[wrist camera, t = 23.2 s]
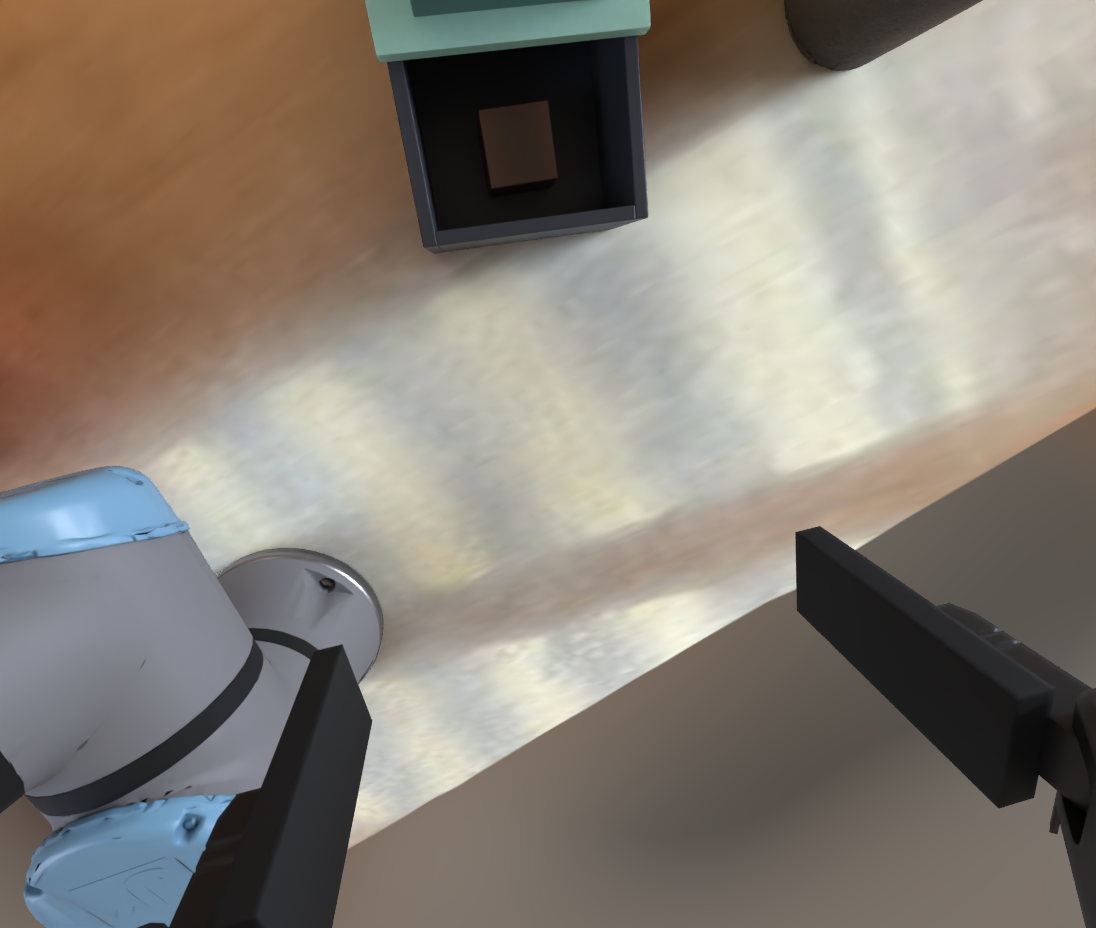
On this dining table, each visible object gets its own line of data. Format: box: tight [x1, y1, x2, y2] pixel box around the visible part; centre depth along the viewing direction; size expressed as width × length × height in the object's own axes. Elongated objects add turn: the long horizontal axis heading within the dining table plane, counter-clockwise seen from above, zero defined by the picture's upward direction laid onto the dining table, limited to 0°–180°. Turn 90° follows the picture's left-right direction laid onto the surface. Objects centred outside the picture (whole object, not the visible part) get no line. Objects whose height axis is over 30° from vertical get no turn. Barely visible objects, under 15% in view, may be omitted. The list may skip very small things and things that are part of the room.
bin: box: [387, 35, 648, 253], centre depth 33 cm, size 14×17×9 cm
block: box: [477, 100, 559, 198], centre depth 35 cm, size 4×4×4 cm
